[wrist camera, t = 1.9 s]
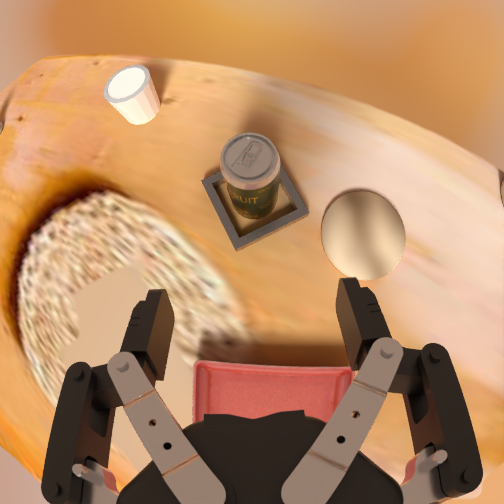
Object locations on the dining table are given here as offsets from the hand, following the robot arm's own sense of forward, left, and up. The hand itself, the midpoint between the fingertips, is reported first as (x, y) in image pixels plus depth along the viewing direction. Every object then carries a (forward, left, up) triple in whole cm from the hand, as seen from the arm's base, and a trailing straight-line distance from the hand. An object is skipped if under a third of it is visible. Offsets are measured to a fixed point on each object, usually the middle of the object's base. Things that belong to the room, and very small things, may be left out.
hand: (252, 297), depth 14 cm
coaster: (-15, -1, -22) cm, 26 cm away
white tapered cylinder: (+3, -32, -22) cm, 39 cm away
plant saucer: (+6, +15, -22) cm, 28 cm away
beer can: (-5, -11, -22) cm, 25 cm away
